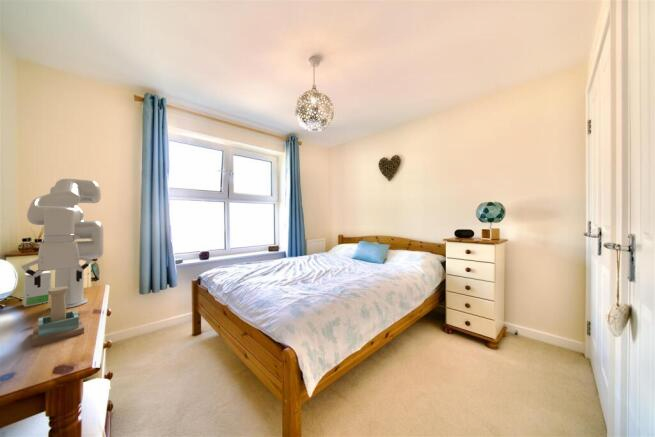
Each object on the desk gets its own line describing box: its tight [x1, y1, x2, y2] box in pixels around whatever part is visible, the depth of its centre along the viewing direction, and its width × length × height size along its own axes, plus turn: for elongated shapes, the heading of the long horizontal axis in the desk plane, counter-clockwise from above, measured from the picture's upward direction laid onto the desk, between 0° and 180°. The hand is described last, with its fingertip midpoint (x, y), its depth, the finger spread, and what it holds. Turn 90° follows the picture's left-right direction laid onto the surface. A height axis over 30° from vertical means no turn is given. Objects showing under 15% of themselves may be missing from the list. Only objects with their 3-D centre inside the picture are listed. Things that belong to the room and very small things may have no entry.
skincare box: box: [22, 270, 52, 308], centre depth 115 cm, size 8×7×16 cm
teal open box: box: [32, 309, 85, 348], centre depth 86 cm, size 14×12×6 cm
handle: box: [48, 286, 68, 323], centre depth 86 cm, size 5×6×15 cm
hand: (59, 283), depth 87 cm, fingers open, 9 cm apart
